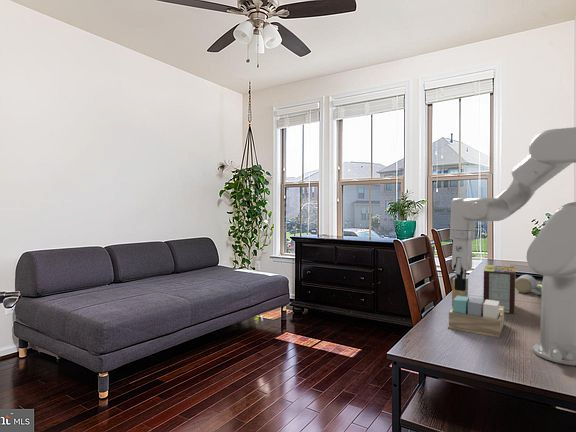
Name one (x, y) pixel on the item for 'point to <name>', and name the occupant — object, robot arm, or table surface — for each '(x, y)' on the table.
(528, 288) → the ceramic mug
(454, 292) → the skincare box
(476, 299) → the slate key
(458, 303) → the teal key
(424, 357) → the table surface
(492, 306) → the white rectangular block
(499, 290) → the protein box
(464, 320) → the tan wooden box
